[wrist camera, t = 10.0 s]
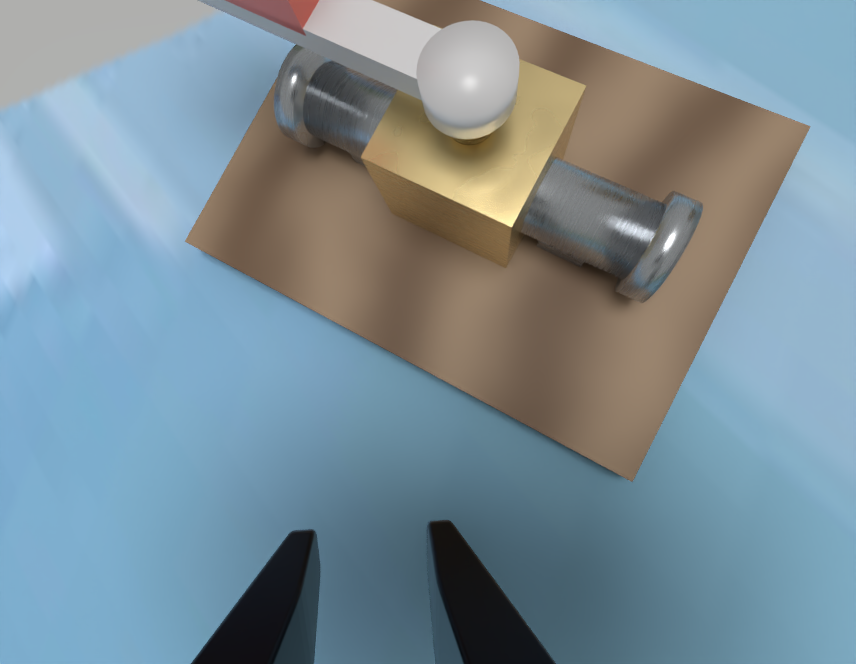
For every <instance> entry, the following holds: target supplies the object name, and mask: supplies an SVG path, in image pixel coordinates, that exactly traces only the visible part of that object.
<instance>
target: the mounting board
mask: <svg viewBox="0 0 856 664" xmlns="http://www.w3.org/2000/svg"><path fill="white" fill-rule="evenodd" d="M373 1H375V2H378V3H380V4H383V5H385V6H388V7H390V8H392V9H395V10H397V11H400V12H402V13H404V14H407V15H409V16H412V17H414V18H416V19H419V20H421V21H424V22H426V23H429V24H431V25H435V26H438V27H440V28H445V27H447V26H449V25H451V24H454V23H457V22H462V21H471V20H474V21H482V22H487V23H490V24H492V25H494V26H497V27H498V28H500V29H501V30H503V31H504V32H505V33H506V34H507V35H508V36H509V37H510V38H511V39H512V41H513V43H514V44H515V46H516V49H517V51H518V55H519V59H521V60H523V61H526V62H528V63H531V64H533V65H536V66H538V67H541V68H543V69H546V70H548V71H551V72H553V73H556V74H558V75H561V76H563V77H566V78H568V79H571V80H573V81H576V82H578V83H581V84H583V85H586V89H585V92H584V95H583V99H582V102H581V105H580V108H579V111H578V114H577V117H576V120H575V124H574V127H573V130H572V133H571V136H570V139H569V142H568V146H567V149H566V152H565V155H564V158H563V160H564V161H567V162H569V163H571V164H574V165H576V166H578V167H581V168H583V169H585V170H588V171H590V172H592V173H595V174H597V175H599V176H602V177H604V178H606V179H609V180H611V181H613V182H616V183H618V184H620V185H623V186H625V187H627V188H630V189H632V190H634V191H637V192H639V193H641V194H644V195H646V196H648V197H651V198H653V199H655V200H658V201H660V202H662V201H663V200H664V199H665V198H666V196H667V195H668V194H669V193H670V192H672V191H676V192H678V193H681V194H683V195H686V196H688V197H690V198H693V199H695V200H697V201H700V202H702V203H703V211H702V215H701V218H700V220H699V223H698V225H697V227H696V230H695V232H694V234H693V236H692V238H691V240H690V242H689V244H688V245H687V247H686V249H685V251H684V252H683V254H682V256H681V257H680V259H679V261H678V262H677V264H676V265H675V267H674V268H673V270H672V271H671V273H670V274H669V276H668V277H667V279H666V280H665V281H664V283H663V284H662V285H661V286H660V288H659V289H658V290H657V291H656V292H655V294H654V295H653V296H652V297H651V298H650V299H649V300H647V301H646V302H644V303H639V302H637V301H635V300H633V299H631V298H629V297H627V296H624V295H622V294H620V293H618V292H616V291H615V286H616V283H617V280H618V277H616V276H614V275H612V274H610V273H608V272H605V271H603V270H601V269H599V268H597V267H595V266H592V265H590V264H588V263H586V262H584V263H583V264H582V266H581V267H579V266H577V265H575V264H573V263H571V262H568V261H566V260H564V259H562V258H560V257H558V256H556V255H553V254H551V253H549V252H547V251H545V250H543V249H541V248H538V247H536V246H537V243H538V240H537V239H534V238H532V237H530V236H528V235H526V234H524V235H523V237H522V239H521V241H520V243H519V245H518V247H517V249H516V251H515V253H514V254H513V256H512V258H511V260H510V262H509V264H508V266H507V268H504V267H502V266H500V265H498V264H496V263H494V262H492V261H490V260H487V259H485V258H483V257H481V256H479V255H477V254H475V253H473V252H471V251H469V250H467V249H465V248H463V247H460V246H458V245H456V244H454V243H452V242H450V241H448V240H446V239H444V238H442V237H440V236H438V235H436V234H433V233H431V232H429V231H427V230H425V229H423V228H421V227H419V226H417V225H415V224H413V223H411V222H408V221H406V220H404V219H402V218H400V217H398V216H396V215H394V214H392V213H391V211H390V209H389V208H388V206H387V204H386V202H385V200H384V199H383V197H382V195H381V193H380V191H379V190H378V188H377V186H376V184H375V182H374V181H373V179H372V177H371V175H370V173H369V172H368V170H367V168H366V167H365V166H363V165H361V164H359V163H357V162H355V161H354V159H353V158H352V156H351V154H350V153H349V152H347V151H345V150H343V149H341V148H339V147H336V146H334V145H332V144H330V143H328V142H326V143H325V144H324V145H322V146H320V147H317V148H310V147H308V146H305V145H303V144H301V143H299V142H297V141H295V140H293V139H291V138H288V137H287V136H285V135H284V134H283V133H282V131H281V130H280V129H279V126H278V124H277V121H276V118H275V113H274V92H275V85H276V81H277V79H276V81H275V82H274V84H273V86H272V88H271V89H270V91H269V93H268V95H267V97H266V98H265V100H264V102H263V104H262V105H261V107H260V109H259V111H258V113H257V114H256V116H255V118H254V120H253V121H252V123H251V125H250V127H249V129H248V130H247V132H246V134H245V136H244V137H243V139H242V141H241V143H240V144H239V146H238V148H237V150H236V152H235V153H234V155H233V157H232V159H231V160H230V162H229V164H228V166H227V168H226V169H225V171H224V173H223V175H222V176H221V178H220V180H219V182H218V184H217V185H216V187H215V189H214V191H213V192H212V194H211V196H210V198H209V200H208V201H207V203H206V205H205V207H204V208H203V210H202V212H201V214H200V215H199V217H198V219H197V221H196V223H195V224H194V226H193V228H192V230H191V231H190V233H189V235H188V237H187V239H186V240H185V242H187V243H189V244H191V245H192V246H194V247H196V248H198V249H200V250H202V251H204V252H205V253H207V254H209V255H211V256H213V257H215V258H217V259H218V260H220V261H222V262H224V263H226V264H228V265H230V266H231V267H233V268H235V269H237V270H239V271H241V272H243V273H245V274H246V275H248V276H250V277H252V278H254V279H256V280H258V281H259V282H261V283H263V284H265V285H267V286H269V287H271V288H272V289H274V290H276V291H278V292H280V293H282V294H284V295H285V296H287V297H289V298H291V299H293V300H295V301H297V302H298V303H300V304H302V305H304V306H306V307H308V308H310V309H311V310H313V311H315V312H317V313H319V314H321V315H323V316H324V317H326V318H328V319H330V320H332V321H334V322H336V323H338V324H339V325H341V326H343V327H345V328H347V329H349V330H351V331H352V332H354V333H356V334H358V335H360V336H362V337H364V338H365V339H367V340H369V341H371V342H373V343H375V344H377V345H378V346H380V347H382V348H384V349H386V350H388V351H390V352H391V353H393V354H395V355H397V356H399V357H401V358H403V359H404V360H406V361H408V362H410V363H412V364H414V365H416V366H418V367H419V368H421V369H423V370H425V371H427V372H429V373H431V374H432V375H434V376H436V377H438V378H440V379H442V380H444V381H445V382H447V383H449V384H451V385H453V386H455V387H457V388H458V389H460V390H462V391H464V392H466V393H468V394H470V395H471V396H473V397H475V398H477V399H479V400H481V401H483V402H484V403H486V404H488V405H490V406H492V407H494V408H496V409H497V410H499V411H501V412H503V413H505V414H507V415H509V416H511V417H512V418H514V419H516V420H518V421H520V422H522V423H524V424H525V425H527V426H529V427H531V428H533V429H535V430H537V431H538V432H540V433H542V434H544V435H546V436H548V437H550V438H551V439H553V440H555V441H557V442H559V443H561V444H563V445H564V446H566V447H568V448H570V449H572V450H574V451H576V452H577V453H579V454H581V455H583V456H585V457H587V458H589V459H591V460H592V461H594V462H596V463H598V464H600V465H602V466H604V467H605V468H607V469H609V470H611V471H613V472H615V473H617V474H618V475H620V476H622V477H624V478H626V479H628V480H630V481H631V482H633V480H634V478H635V476H636V474H637V472H638V470H639V468H640V466H641V464H642V462H643V460H644V458H645V456H646V454H647V452H648V450H649V448H650V446H651V444H652V442H653V440H654V438H655V436H656V434H657V432H658V430H659V428H660V426H661V424H662V422H663V420H664V418H665V416H666V414H667V412H668V410H669V408H670V406H671V404H672V402H673V400H674V398H675V396H676V394H677V392H678V390H679V388H680V386H681V384H682V382H683V380H684V378H685V376H686V374H687V372H688V370H689V368H690V366H691V364H692V362H693V360H694V358H695V356H696V354H697V352H698V350H699V348H700V346H701V344H702V342H703V340H704V338H705V336H706V334H707V332H708V330H709V328H710V326H711V324H712V322H713V320H714V318H715V316H716V314H717V312H718V310H719V308H720V306H721V304H722V302H723V300H724V298H725V296H726V294H727V292H728V290H729V288H730V286H731V284H732V282H733V280H734V278H735V276H736V274H737V272H738V270H739V268H740V266H741V264H742V262H743V260H744V258H745V256H746V254H747V252H748V250H749V248H750V246H751V244H752V242H753V240H754V238H755V236H756V234H757V232H758V230H759V228H760V226H761V224H762V222H763V220H764V218H765V216H766V214H767V212H768V210H769V208H770V206H771V204H772V202H773V200H774V198H775V196H776V194H777V192H778V190H779V188H780V186H781V184H782V182H783V180H784V178H785V176H786V174H787V172H788V170H789V168H790V166H791V164H792V162H793V160H794V158H795V156H796V154H797V152H798V150H799V148H800V146H801V144H802V142H803V140H804V138H805V136H806V134H807V132H808V131H809V129H810V126H808V125H805V124H803V123H800V122H797V121H795V120H792V119H789V118H787V117H784V116H782V115H779V114H776V113H774V112H771V111H769V110H766V109H763V108H761V107H758V106H755V105H753V104H750V103H748V102H745V101H742V100H740V99H737V98H734V97H732V96H729V95H727V94H724V93H721V92H719V91H716V90H713V89H711V88H708V87H706V86H703V85H700V84H698V83H695V82H693V81H690V80H687V79H685V78H682V77H679V76H677V75H674V74H672V73H669V72H666V71H664V70H661V69H658V68H656V67H653V66H651V65H648V64H645V63H643V62H640V61H638V60H635V59H632V58H630V57H627V56H624V55H622V54H619V53H617V52H614V51H611V50H609V49H606V48H603V47H601V46H598V45H596V44H593V43H590V42H588V41H585V40H582V39H580V38H577V37H575V36H572V35H569V34H567V33H564V32H562V31H559V30H556V29H554V28H551V27H548V26H546V25H543V24H541V23H538V22H535V21H533V20H530V19H527V18H525V17H522V16H520V15H517V14H514V13H512V12H509V11H507V10H504V9H501V8H499V7H496V6H493V5H491V4H488V3H486V2H483V1H480V0H373Z"/></svg>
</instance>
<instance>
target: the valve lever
mask: <svg viewBox="0 0 856 664" xmlns="http://www.w3.org/2000/svg"><path fill="white" fill-rule="evenodd" d="M198 1H201V2H203V3H205V4H207V5H209V6H212V7H214V8H216V9H218V10H221V11H223V12H225V13H227V14H230V15H232V16H234V17H236V18H238V19H241V20H243V21H245V22H247V23H250V24H252V25H254V26H256V27H259V28H261V29H263V30H265V31H268V32H270V33H272V34H274V35H277V36H279V37H281V38H283V39H285V40H288V41H290V42H292V43H294V44H297V45H299V46H301V47H303V48H306V49H308V50H310V51H312V52H315V53H317V54H319V55H321V56H323V57H326V58H328V59H330V60H332V61H335V62H337V63H339V64H341V65H344V66H346V67H348V68H350V69H353V70H355V71H357V72H359V73H362V74H364V75H366V76H368V77H370V78H373V79H375V80H377V81H379V82H382V83H384V84H386V85H388V86H391V87H393V88H395V89H397V90H400V91H402V92H404V93H406V94H408V95H411V96H413V97H415V98H417V99H420V100H422V103H423V107H424V111H425V114H426V116H427V118H428V119H429V121H430V122H431V124H432V125H433V126H434V127H435V128H436V129H438V130H439V131H440V132H442V133H444V134H446V135H448V136H450V137H454V138H458V139H474V138H479V137H483V136H485V135H488V134H490V133H492V132H494V131H495V130H496V129H498V128H499V127H500V126H501V125H503V124H504V123H505V121H506V120H507V119H508V118H509V116H510V115H511V113H512V111H513V109H514V106H515V103H516V98H517V89H518V78H519V64H520V62H519V55H518V51H517V49H516V46H515V44H514V43H513V41H512V39H511V38H510V37H509V36H508V35H507V34H506V33H505V32H504V31H503V30H501V29H500V28H498V27H497V26H494V25H492V24H490V23H487V22H482V21H474V20H471V21H462V22H457V23H454V24H451V25H449V26H447V27H445V28H443V29H441V28H438V27H436V26H433V25H431V24H429V23H426V22H424V21H421V20H419V19H416V18H414V17H412V16H409V15H407V14H404V13H402V12H400V11H397V10H395V9H392V8H390V7H388V6H385V5H383V4H380V3H378V2H375V1H373V0H198Z"/></svg>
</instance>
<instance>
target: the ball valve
mask: <svg viewBox="0 0 856 664" xmlns="http://www.w3.org/2000/svg"><path fill="white" fill-rule="evenodd" d="M433 26H435V25H433ZM436 27H438V26H436ZM438 28H440V27H438ZM441 29H443V28H441ZM519 62H520V64H519V78H518V89H517V98H516V103H515V106H514V109H513V111H512V113H511V115H510V116H509V118H508V119H507V120H506V121H505V123H504V124H503V125H501V126H500V127H499V128H498V129H496V130H495V131H494V132H492V133H490V134H488V135H485V136H483V137H479V138H474V139H458V138H454V137H450V136H448V135H446V134H444V133H442V132H440V131H439V130H438V129H436V128H435V127H434V126H433V125H432V124H431V122H430V121H429V119H428V118H427V116H426V114H425V111H424V107H423V103H422V100H420V99H417V98H415V97H413V96H411V95H408V94H406V93H404V92H402V91H400V90H397V89H395V88H393V87H391V86H388V85H386V84H384V83H382V82H379V81H377V80H375V79H373V78H370V77H368V76H366V75H364V74H362V73H359V72H357V71H355V70H353V69H350V68H348V67H346V66H344V65H341V64H339V63H337V62H335V61H332V60H330V59H328V58H326V57H323V56H321V55H319V54H317V53H315V52H312V51H310V50H308V49H306V48H303V47H301V46H299V45H297V44H296V45H295V46H294V47H293V48H292V50H291V51H290V52H289V53H288V55H287V57H286V58H285V60H284V62H283V64H282V66H281V69H280V71H279V74H278V77H277V81H276V85H275V92H274V113H275V118H276V121H277V124H278V126H279V129H280V130H281V131H282V133H283V134H284V135H285V136H287V137H288V138H291V139H293V140H295V141H297V142H299V143H301V144H303V145H305V146H308V147H310V148H317V147H320V146H322V145H324V144H325V143H326V142H328V143H330V144H332V145H334V146H336V147H339V148H341V149H343V150H345V151H347V152H349V153H350V154H351V156H352V158H353V159H354V161H355V162H357V163H359V164H361V165H363V166H365V167H366V168H367V170H368V172H369V173H370V175H371V177H372V179H373V181H374V182H375V184H376V186H377V188H378V190H379V191H380V193H381V195H382V197H383V199H384V200H385V202H386V204H387V206H388V208H389V209H390V211H391V213H392V214H394V215H396V216H398V217H400V218H402V219H404V220H406V221H408V222H411V223H413V224H415V225H417V226H419V227H421V228H423V229H425V230H427V231H429V232H431V233H433V234H436V235H438V236H440V237H442V238H444V239H446V240H448V241H450V242H452V243H454V244H456V245H458V246H460V247H463V248H465V249H467V250H469V251H471V252H473V253H475V254H477V255H479V256H481V257H483V258H485V259H487V260H490V261H492V262H494V263H496V264H498V265H500V266H502V267H504V268H507V266H508V264H509V262H510V260H511V258H512V256H513V254H514V253H515V251H516V249H517V247H518V245H519V243H520V241H521V239H522V237H523V235H524V234H526V235H528V236H530V237H532V238H534V239H537V240H538V243H537V246H536V247H538V248H541V249H543V250H545V251H547V252H549V253H551V254H553V255H556V256H558V257H560V258H562V259H564V260H566V261H568V262H571V263H573V264H575V265H577V266H579V267H581V266H582V264H583V263H584V262H586V263H588V264H590V265H592V266H595V267H597V268H599V269H601V270H603V271H605V272H608V273H610V274H612V275H614V276H616V277H618V280H617V283H616V286H615V291H616V292H618V293H620V294H622V295H624V296H627V297H629V298H631V299H633V300H635V301H637V302H639V303H644V302H646V301H647V300H649V299H650V298H651V297H652V296H653V295H654V294H655V292H656V291H657V290H658V289H659V288H660V286H661V285H662V284H663V283H664V281H665V280H666V279H667V277H668V276H669V274H670V273H671V271H672V270H673V268H674V267H675V265H676V264H677V262H678V261H679V259H680V257H681V256H682V254H683V252H684V251H685V249H686V247H687V245H688V244H689V242H690V240H691V238H692V236H693V234H694V232H695V230H696V227H697V225H698V223H699V220H700V218H701V215H702V211H703V203H702V202H700V201H697V200H695V199H693V198H690V197H688V196H686V195H683V194H681V193H678V192H676V191H672V192H670V193H669V194H668V195H667V196H666V198H665V199H664V200H663V201H662V202H660V201H658V200H655V199H653V198H651V197H648V196H646V195H644V194H641V193H639V192H637V191H634V190H632V189H630V188H627V187H625V186H623V185H620V184H618V183H616V182H613V181H611V180H609V179H606V178H604V177H602V176H599V175H597V174H595V173H592V172H590V171H588V170H585V169H583V168H581V167H578V166H576V165H574V164H571V163H569V162H567V161H564V160H563V158H564V155H565V152H566V149H567V146H568V142H569V139H570V136H571V133H572V130H573V127H574V124H575V120H576V117H577V114H578V111H579V108H580V105H581V102H582V99H583V95H584V92H585V89H586V85H583V84H581V83H578V82H576V81H573V80H571V79H568V78H566V77H563V76H561V75H558V74H556V73H553V72H551V71H548V70H546V69H543V68H541V67H538V66H536V65H533V64H531V63H528V62H526V61H523V60H521V59H519Z"/></svg>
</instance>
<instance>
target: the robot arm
mask: <svg viewBox="0 0 856 664" xmlns="http://www.w3.org/2000/svg"><path fill="white" fill-rule="evenodd" d="M427 571H428V583H429V596H430V608H431V620H432V632H433V644H434V654H435V662H436V664H556V663H555V661H554V660H553V659H552V657H551V656H550V655H549V653H548V652H547V651H546V649H545V648H544V647H543V645H542V644H541V642H540V641H539V640H538V638H537V637H536V636H535V634H534V633H533V632H532V630H531V629H530V628H529V626H528V625H527V623H526V622H525V621H524V619H523V618H522V617H521V615H520V614H519V613H518V611H517V610H516V609H515V607H514V606H513V604H512V603H511V602H510V600H509V599H508V598H507V596H506V595H505V594H504V592H503V591H502V590H501V588H500V587H499V585H498V584H497V583H496V581H495V580H494V579H493V577H492V576H491V575H490V573H489V572H488V571H487V569H486V568H485V566H484V565H483V564H482V562H481V561H480V560H479V558H478V557H477V556H476V554H475V553H474V552H473V550H472V549H471V547H470V546H469V545H468V543H467V542H466V541H465V539H464V538H463V537H462V535H461V534H460V533H459V531H458V530H457V528H456V527H455V526H454V524H453V523H452V522H451V521H449V520H438V521H430V522H428V524H427ZM319 587H320V559H319V550H318V542H317V534H316V532H315V531H314V530H313V529H308V530H294V531H292V532H290V533H289V534H288V536H287V537H286V538H285V540H284V541H283V542H282V544H281V545H280V546H279V548H278V549H277V550H276V552H275V553H274V554H273V556H272V557H271V558H270V560H269V561H268V562H267V564H266V565H265V566H264V567H263V569H262V570H261V571H260V573H259V574H258V575H257V577H256V578H255V579H254V581H253V582H252V583H251V585H250V586H249V587H248V589H247V590H246V591H245V593H244V594H243V595H242V597H241V598H240V599H239V601H238V602H237V603H236V605H235V606H234V607H233V609H232V610H231V611H230V613H229V614H228V615H227V617H226V618H225V619H224V621H223V622H222V623H221V625H220V626H219V627H218V628H217V630H216V631H215V632H214V634H213V635H212V636H211V638H210V639H209V640H208V642H207V643H206V644H205V646H204V647H203V648H202V650H201V651H200V652H199V654H198V655H197V656H196V658H195V659H194V660H193V662H192V663H191V664H314V656H315V642H316V628H317V614H318V601H319Z"/></svg>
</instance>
